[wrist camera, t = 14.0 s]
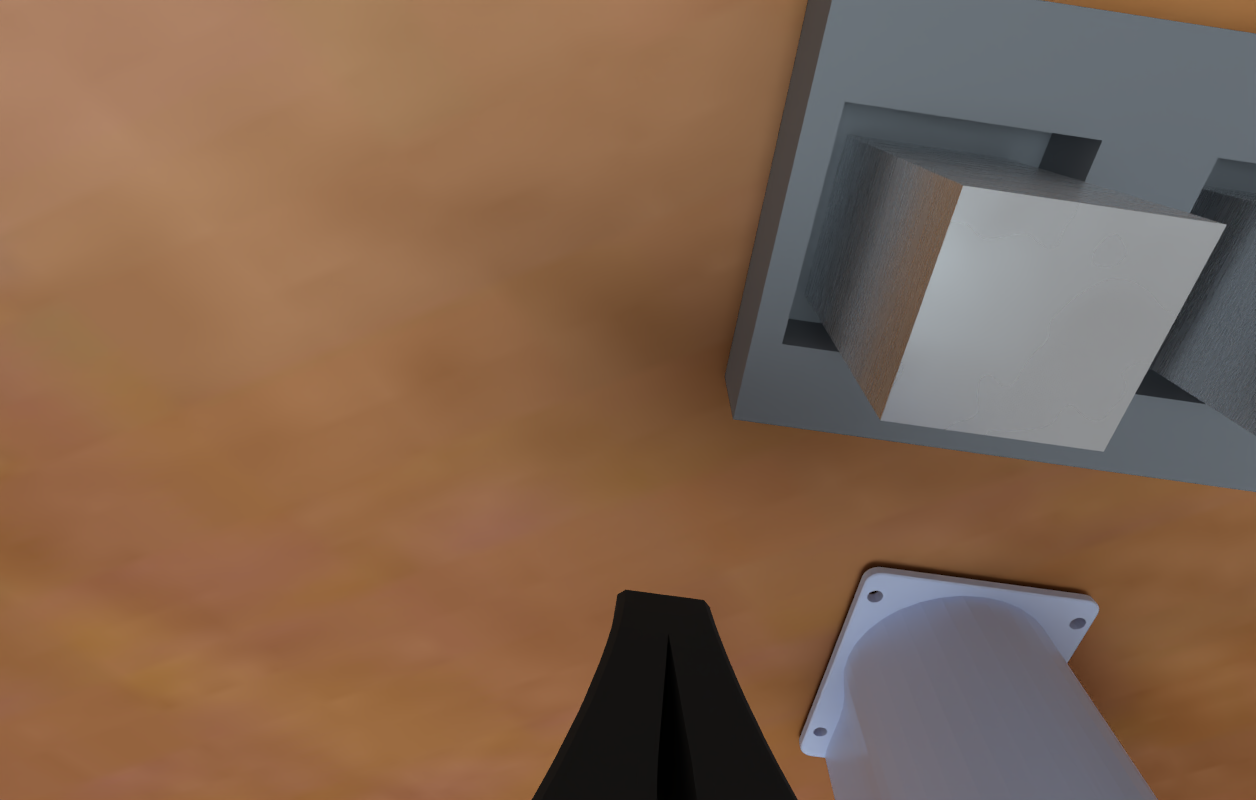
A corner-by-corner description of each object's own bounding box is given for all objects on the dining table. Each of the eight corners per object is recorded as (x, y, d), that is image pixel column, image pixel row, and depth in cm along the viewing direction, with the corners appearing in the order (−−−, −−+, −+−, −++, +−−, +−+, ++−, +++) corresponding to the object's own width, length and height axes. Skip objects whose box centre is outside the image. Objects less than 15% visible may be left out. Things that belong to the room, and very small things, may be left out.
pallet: (1218, 445, 20) (1289, 496, 18) (724, 376, 20) (733, 419, 18) (1449, 80, 16) (1586, 84, 13) (812, -18, 15) (839, -32, 13)
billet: (950, 314, 18) (1103, 451, 12) (804, 293, 18) (880, 420, 12) (1009, 159, 16) (1226, 224, 10) (846, 134, 16) (963, 185, 10)
